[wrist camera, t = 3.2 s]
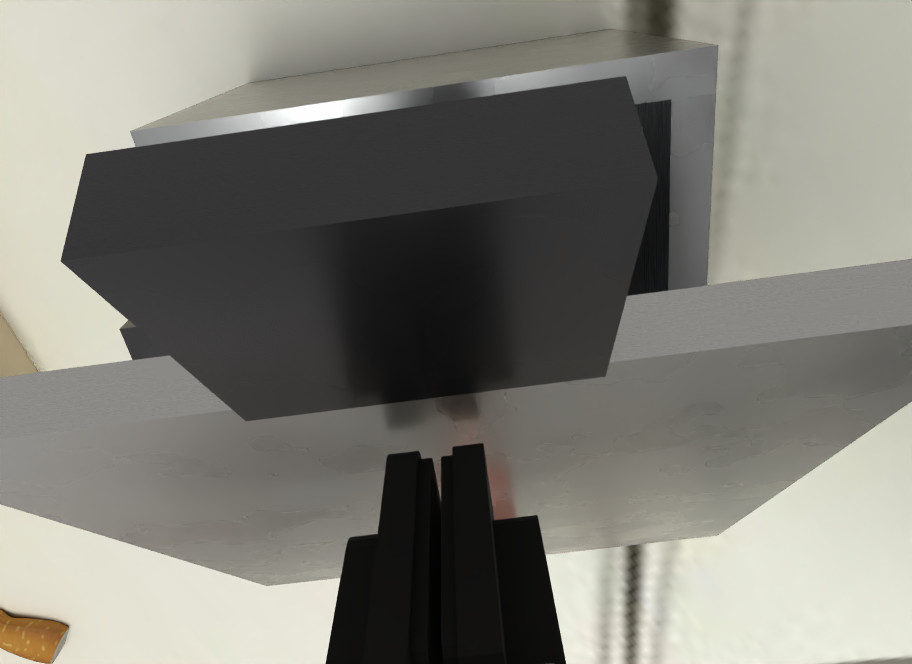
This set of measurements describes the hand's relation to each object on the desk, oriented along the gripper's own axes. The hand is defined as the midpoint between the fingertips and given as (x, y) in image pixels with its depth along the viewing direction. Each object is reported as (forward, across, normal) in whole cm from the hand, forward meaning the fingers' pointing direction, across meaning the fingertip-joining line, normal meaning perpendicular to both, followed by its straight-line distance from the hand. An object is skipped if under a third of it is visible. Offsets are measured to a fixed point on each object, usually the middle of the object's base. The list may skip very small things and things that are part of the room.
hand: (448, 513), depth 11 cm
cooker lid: (+4, 0, +1) cm, 4 cm away
